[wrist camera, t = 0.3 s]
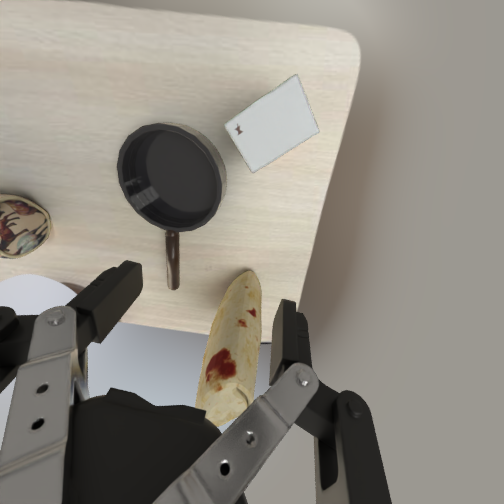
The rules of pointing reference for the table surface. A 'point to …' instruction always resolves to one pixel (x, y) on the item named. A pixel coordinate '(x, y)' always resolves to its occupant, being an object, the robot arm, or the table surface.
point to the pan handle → (172, 259)
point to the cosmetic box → (273, 124)
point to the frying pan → (172, 176)
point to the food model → (232, 353)
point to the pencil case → (21, 226)
